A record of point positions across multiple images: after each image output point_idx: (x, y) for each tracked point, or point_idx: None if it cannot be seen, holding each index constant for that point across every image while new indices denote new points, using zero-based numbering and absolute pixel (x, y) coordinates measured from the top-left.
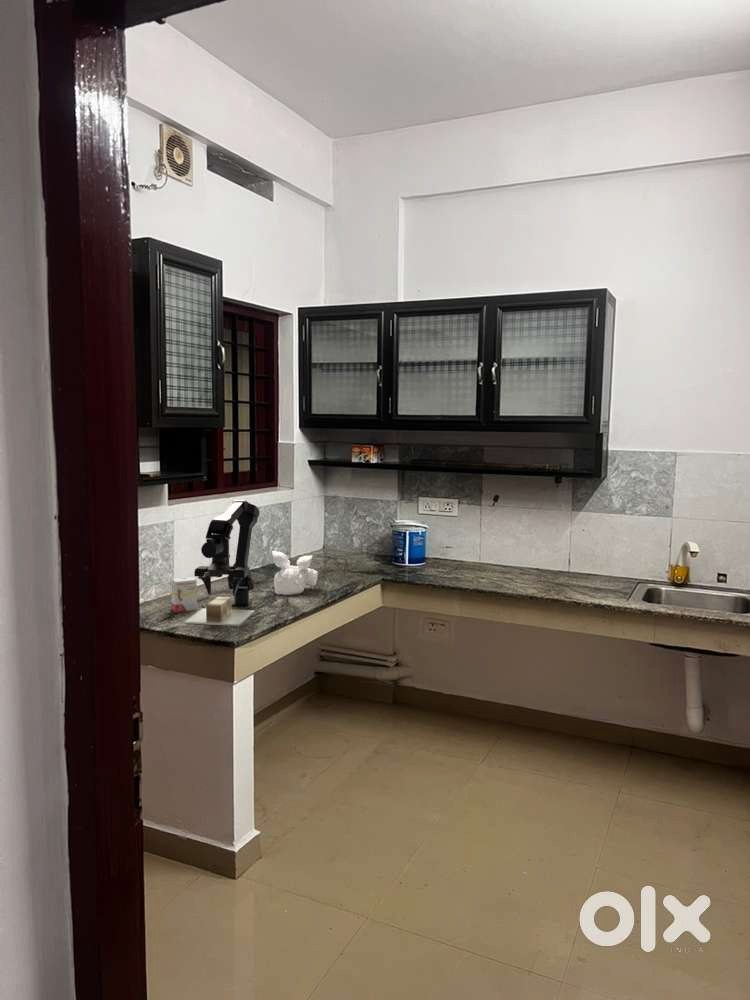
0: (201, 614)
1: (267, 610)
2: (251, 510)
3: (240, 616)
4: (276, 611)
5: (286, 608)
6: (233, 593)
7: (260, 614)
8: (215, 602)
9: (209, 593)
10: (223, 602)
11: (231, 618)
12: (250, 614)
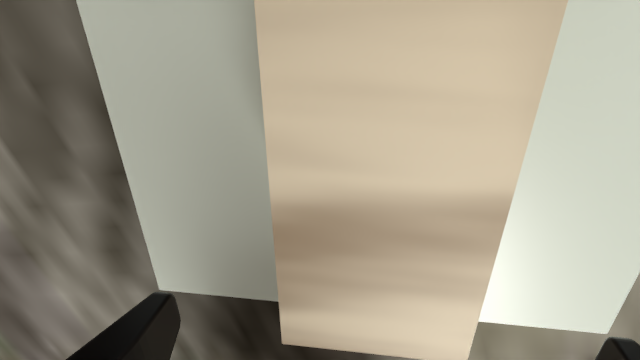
0: (618, 150)
1: (100, 311)
2: None
3: (178, 116)
4: (30, 293)
5: (18, 345)
6: (142, 318)
7: (87, 225)
8: (431, 47)
9: (625, 354)
10: (270, 66)
11: (233, 28)
12: (134, 195)
